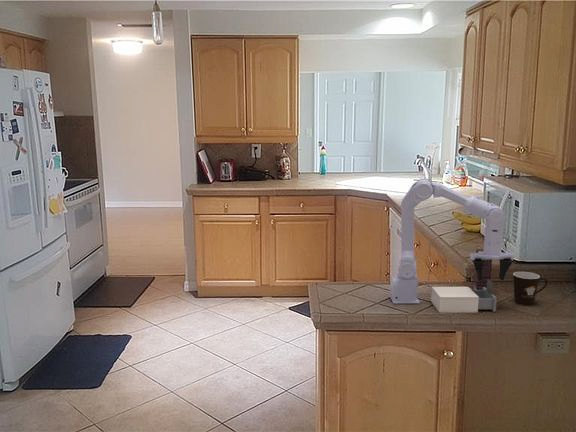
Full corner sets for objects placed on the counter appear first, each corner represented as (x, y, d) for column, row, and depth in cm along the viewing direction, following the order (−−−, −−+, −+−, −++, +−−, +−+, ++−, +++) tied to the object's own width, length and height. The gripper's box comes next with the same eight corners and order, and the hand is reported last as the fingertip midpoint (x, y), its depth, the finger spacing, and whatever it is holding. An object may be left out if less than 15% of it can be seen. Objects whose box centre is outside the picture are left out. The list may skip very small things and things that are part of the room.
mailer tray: (457, 311, 185) (458, 286, 183) (447, 300, 196) (449, 276, 194) (495, 311, 185) (497, 286, 183) (484, 300, 196) (485, 276, 194)
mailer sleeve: (439, 312, 185) (440, 297, 184) (431, 301, 196) (431, 286, 195) (477, 312, 185) (478, 297, 184) (467, 301, 196) (468, 286, 195)
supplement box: (489, 296, 201) (492, 255, 198) (476, 296, 202) (478, 254, 199) (486, 289, 209) (489, 249, 206) (473, 288, 210) (475, 248, 207)
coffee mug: (511, 304, 192) (513, 277, 191) (510, 297, 200) (512, 270, 199) (547, 308, 189) (550, 280, 187) (545, 300, 196) (547, 273, 195)
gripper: (475, 244, 182) (473, 283, 185) (519, 244, 182) (516, 283, 185) (468, 239, 189) (466, 276, 192) (510, 239, 189) (507, 276, 192)
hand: (490, 279), depth 189 cm, fingers open, 7 cm apart
